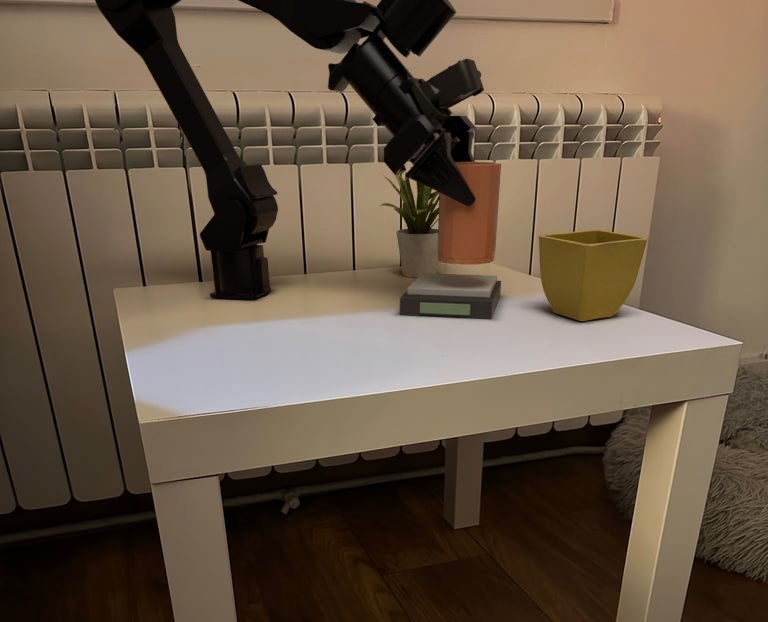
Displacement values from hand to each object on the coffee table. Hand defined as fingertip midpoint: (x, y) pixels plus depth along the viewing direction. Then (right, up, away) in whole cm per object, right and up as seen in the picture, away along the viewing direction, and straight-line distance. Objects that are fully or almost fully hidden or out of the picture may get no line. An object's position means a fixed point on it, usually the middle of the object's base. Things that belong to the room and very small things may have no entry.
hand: (480, 200), depth 84 cm
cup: (-1, -6, +4) cm, 7 cm away
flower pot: (+13, -13, +3) cm, 18 cm away
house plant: (-5, 0, +26) cm, 26 cm away
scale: (-2, -10, +8) cm, 13 cm away
